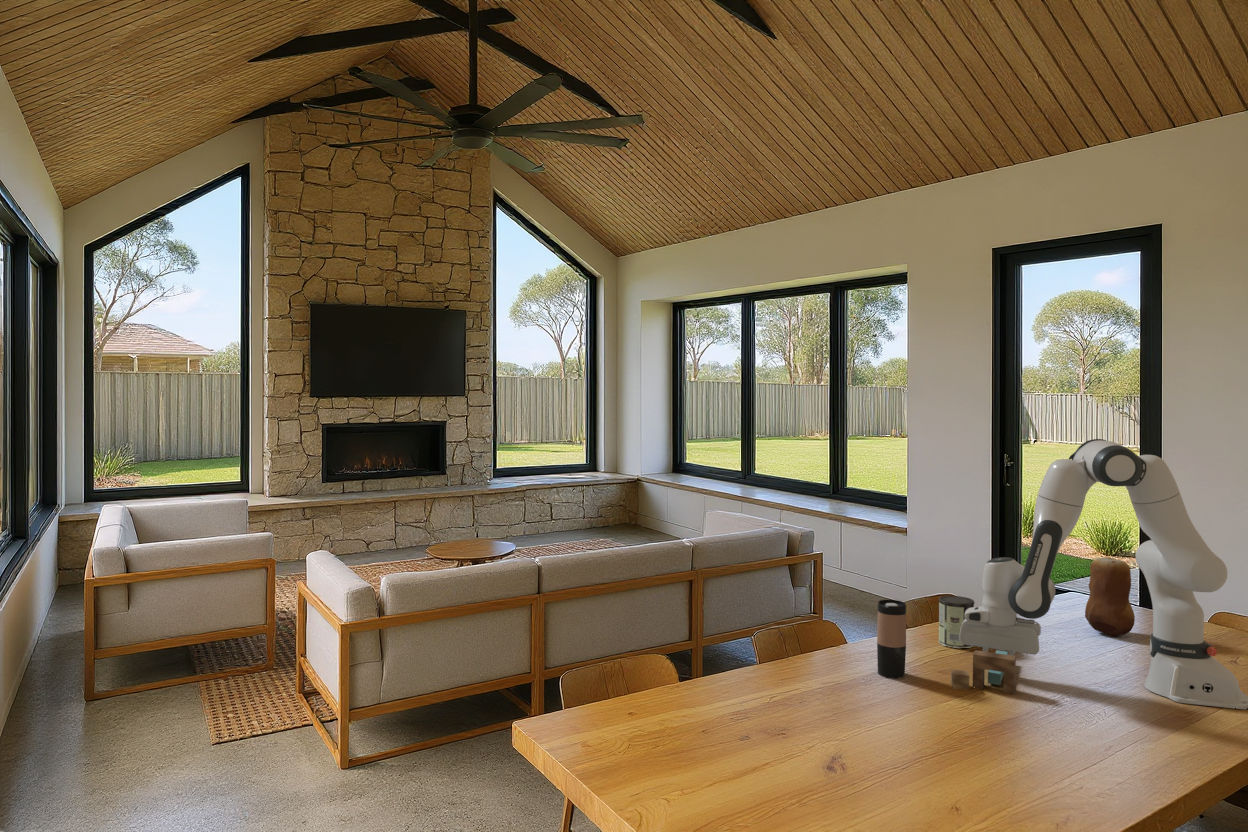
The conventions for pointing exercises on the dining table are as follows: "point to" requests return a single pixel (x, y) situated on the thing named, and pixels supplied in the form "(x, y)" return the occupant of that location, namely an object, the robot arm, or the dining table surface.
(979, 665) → the wooden u-shaped block
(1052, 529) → the robot arm
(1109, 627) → the butternut squash
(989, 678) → the teal square bar
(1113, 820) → the dining table surface
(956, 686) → the bead cube
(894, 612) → the travel mug
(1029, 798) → the dining table surface
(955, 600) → the coffee can
